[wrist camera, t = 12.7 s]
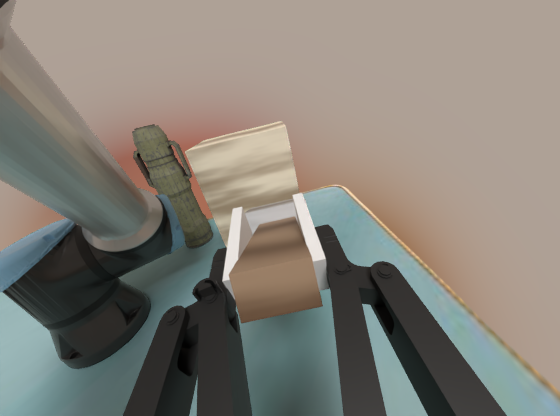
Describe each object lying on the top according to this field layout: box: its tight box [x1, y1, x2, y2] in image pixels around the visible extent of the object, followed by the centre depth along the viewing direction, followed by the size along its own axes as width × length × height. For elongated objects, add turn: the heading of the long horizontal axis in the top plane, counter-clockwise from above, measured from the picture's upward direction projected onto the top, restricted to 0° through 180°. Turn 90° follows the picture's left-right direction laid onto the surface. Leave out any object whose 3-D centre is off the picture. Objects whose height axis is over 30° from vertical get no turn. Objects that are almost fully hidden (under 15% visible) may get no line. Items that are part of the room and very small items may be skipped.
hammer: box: [229, 199, 323, 323], centre depth 19 cm, size 19×7×4 cm, turn 5°
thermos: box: [132, 125, 213, 248], centre depth 59 cm, size 9×12×35 cm
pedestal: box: [185, 121, 299, 248], centre depth 39 cm, size 10×14×30 cm
